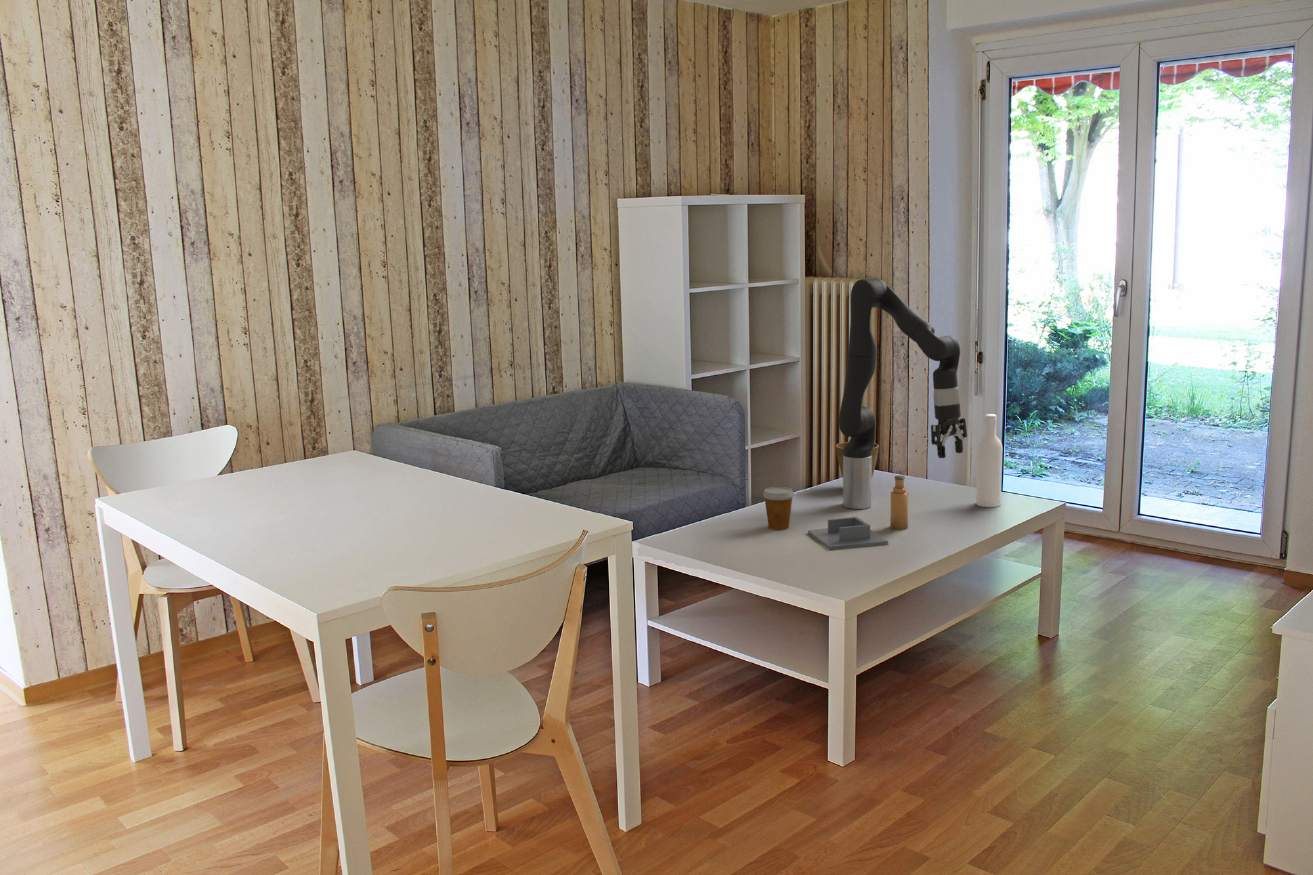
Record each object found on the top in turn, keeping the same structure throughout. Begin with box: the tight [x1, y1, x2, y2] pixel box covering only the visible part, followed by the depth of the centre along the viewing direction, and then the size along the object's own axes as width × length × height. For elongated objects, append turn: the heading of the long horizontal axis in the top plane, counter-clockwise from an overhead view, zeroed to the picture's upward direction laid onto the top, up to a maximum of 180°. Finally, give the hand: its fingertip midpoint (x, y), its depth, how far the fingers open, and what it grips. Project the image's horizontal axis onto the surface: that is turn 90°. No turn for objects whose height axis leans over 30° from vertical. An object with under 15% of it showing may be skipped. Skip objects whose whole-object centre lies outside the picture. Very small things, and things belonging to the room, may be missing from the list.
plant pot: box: [835, 441, 880, 478], centre depth 362 cm, size 15×15×16 cm
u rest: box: [807, 516, 889, 551], centre depth 304 cm, size 18×18×5 cm
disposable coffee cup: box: [762, 486, 795, 531], centre depth 317 cm, size 10×10×12 cm
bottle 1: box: [889, 475, 909, 531], centre depth 313 cm, size 5×5×16 cm
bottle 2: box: [975, 413, 1004, 508], centre depth 334 cm, size 8×8×30 cm
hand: (950, 455), depth 311 cm, fingers open, 8 cm apart
